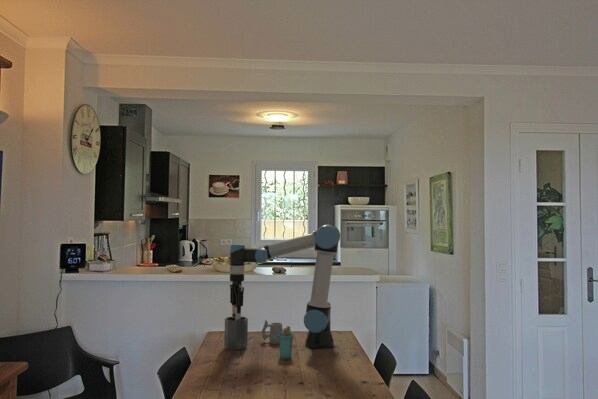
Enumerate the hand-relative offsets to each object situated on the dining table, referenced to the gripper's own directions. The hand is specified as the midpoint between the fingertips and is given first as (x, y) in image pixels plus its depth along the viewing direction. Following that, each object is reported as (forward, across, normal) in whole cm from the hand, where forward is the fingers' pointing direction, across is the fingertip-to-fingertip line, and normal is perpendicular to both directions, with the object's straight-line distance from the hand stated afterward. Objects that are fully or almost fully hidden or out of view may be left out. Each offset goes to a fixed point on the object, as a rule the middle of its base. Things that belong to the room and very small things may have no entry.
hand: (236, 318), depth 243 cm
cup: (+15, +28, +14) cm, 35 cm away
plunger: (+11, 0, 0) cm, 11 cm away
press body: (+15, -2, 0) cm, 15 cm away
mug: (+15, -1, +22) cm, 27 cm away
